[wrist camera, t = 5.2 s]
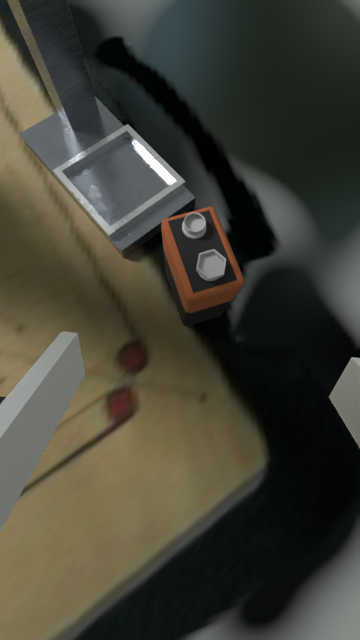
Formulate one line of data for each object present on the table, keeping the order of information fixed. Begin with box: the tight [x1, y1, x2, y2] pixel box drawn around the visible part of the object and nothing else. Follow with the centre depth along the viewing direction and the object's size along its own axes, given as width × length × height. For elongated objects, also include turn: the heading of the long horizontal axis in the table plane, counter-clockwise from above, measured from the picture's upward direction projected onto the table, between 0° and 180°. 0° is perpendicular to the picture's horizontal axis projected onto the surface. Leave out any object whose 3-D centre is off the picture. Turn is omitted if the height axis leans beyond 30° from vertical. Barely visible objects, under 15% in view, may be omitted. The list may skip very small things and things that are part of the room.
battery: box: [161, 207, 244, 326], centre depth 21 cm, size 4×7×10 cm, turn 18°
